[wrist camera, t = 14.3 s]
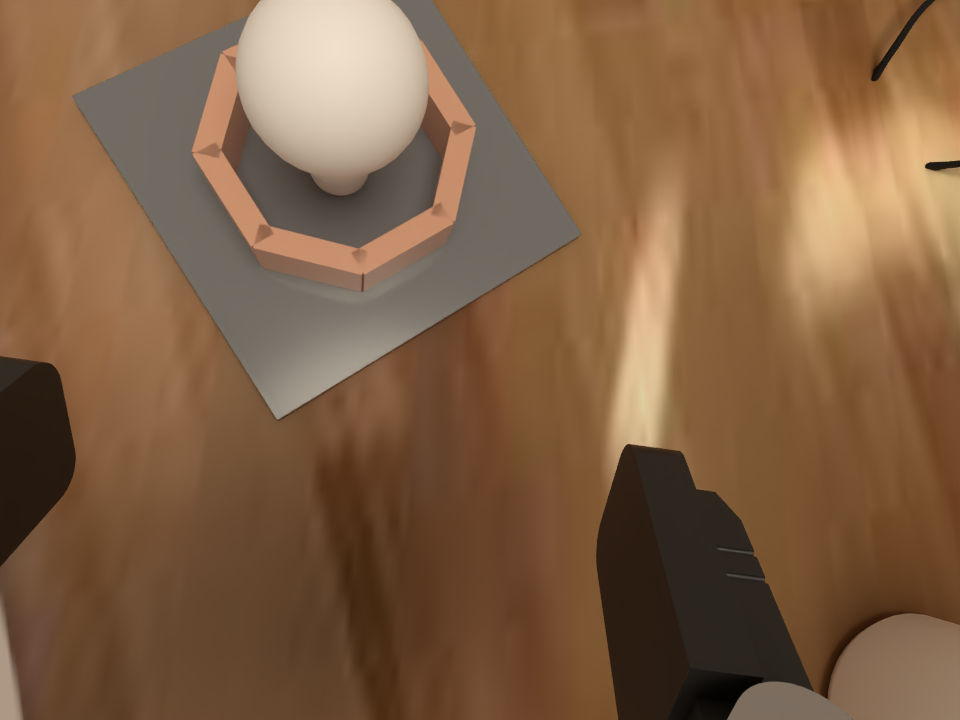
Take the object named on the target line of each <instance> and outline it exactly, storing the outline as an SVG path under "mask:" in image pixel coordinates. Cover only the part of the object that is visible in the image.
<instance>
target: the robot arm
mask: <svg viewBox="0 0 960 720" xmlns="http://www.w3.org/2000/svg"><path fill="white" fill-rule="evenodd" d="M75 461H76V454H75V448H74V443H73V438H72V433H71V428H70V423H69V418H68V413H67V408H66V403H65V398H64V393H63V388H62V383H61V378H60V375H59V373H58V371H57V369H56V368H55V367H54V366H53V365H52V364H49V363H45V362H38V361H31V360H23V359H16V358H9V357H2V356H0V566H1V565H2V564H3V563H4V562H5V561H6V560H7V559H8V557H9V556H10V555H11V554H12V553H13V552H14V551H15V549H16V548H17V547H18V546H19V545H20V544H21V543H22V542H23V540H24V539H25V538H26V537H27V536H28V535H29V534H30V532H31V531H32V530H33V529H34V528H35V527H36V526H37V525H38V523H39V522H40V521H41V520H42V519H43V518H44V517H45V515H46V514H47V513H48V512H49V511H50V510H51V509H52V508H53V506H54V505H55V504H56V503H57V502H58V501H59V500H60V498H61V497H62V496H63V495H64V493H65V492H66V490H67V488H68V486H69V484H70V482H71V479H72V477H73V473H74V469H75ZM753 552H754V550H753V547H752V545H751V543H750V540H749V538H748V536H747V533H746V531H745V529H744V526H743V524H742V522H741V520H740V519H739V517H738V516H737V515H736V514H735V513H734V512H733V511H732V510H731V509H730V508H729V507H728V506H727V504H726V503H725V502H724V501H723V500H722V499H721V498H720V497H719V496H718V495H717V494H716V492H711V491H704V490H697V489H696V487H695V485H694V482H693V479H692V476H691V474H690V471H689V468H688V465H687V463H686V460H685V457H684V455H683V454H682V452H680V451H675V450H668V449H661V448H653V447H646V446H639V445H631V444H628V445H626V446H625V447H624V449H623V451H622V453H621V456H620V459H619V463H618V466H617V469H616V473H615V476H614V480H613V483H612V486H611V490H610V493H609V496H608V500H607V503H606V506H605V510H604V513H603V516H602V520H601V523H600V527H599V532H598V539H597V552H596V562H597V573H598V580H599V587H600V594H601V601H602V608H603V615H604V622H605V629H606V636H607V643H608V650H609V657H610V664H611V671H612V678H613V685H614V692H615V699H616V706H617V713H618V720H853V719H852V718H851V717H850V716H849V715H848V714H847V713H845V712H844V711H843V710H842V709H841V708H839V707H838V706H837V705H835V704H834V703H832V702H831V701H830V700H828V699H826V698H825V697H823V696H821V695H819V694H818V693H816V692H814V690H813V688H812V686H811V684H810V682H809V679H808V677H807V675H806V672H805V670H804V668H803V665H802V663H801V660H800V658H799V656H798V653H797V651H796V649H795V646H794V644H793V642H792V639H791V637H790V635H789V632H788V630H787V628H786V625H785V623H784V620H783V618H782V616H781V613H780V611H779V609H778V606H777V604H776V602H775V599H774V597H773V595H772V592H771V590H770V587H769V585H768V584H766V583H765V582H764V579H765V576H764V573H763V571H762V569H761V566H760V564H759V562H758V559H757V557H754V556H753Z"/></svg>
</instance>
